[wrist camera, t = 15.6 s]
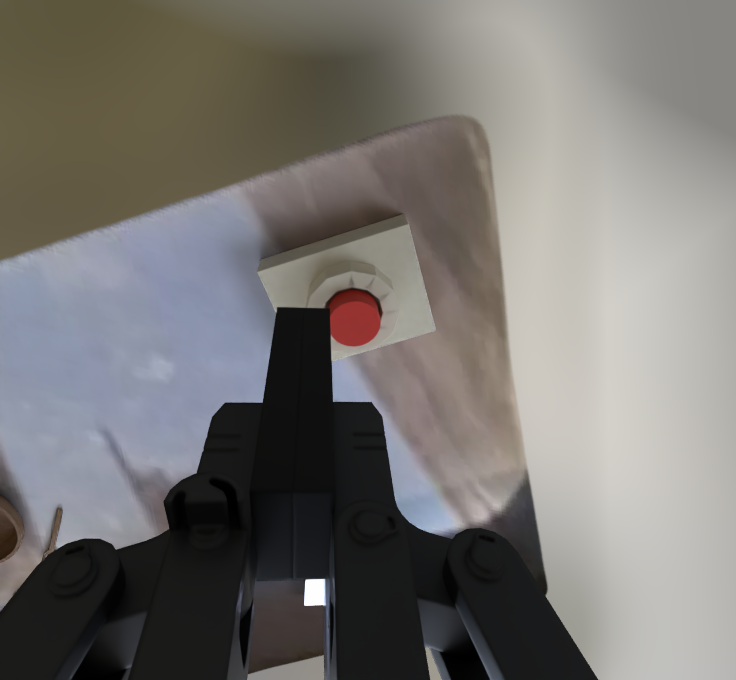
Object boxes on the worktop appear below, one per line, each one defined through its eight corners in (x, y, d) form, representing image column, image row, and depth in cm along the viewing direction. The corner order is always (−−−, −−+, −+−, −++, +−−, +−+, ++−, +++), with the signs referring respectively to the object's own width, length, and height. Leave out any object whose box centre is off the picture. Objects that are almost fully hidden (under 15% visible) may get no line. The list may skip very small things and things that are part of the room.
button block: (403, 213, 35) (413, 232, 32) (430, 317, 40) (441, 343, 36) (259, 259, 36) (254, 282, 32) (302, 355, 41) (302, 384, 37)
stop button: (369, 283, 34) (372, 294, 32) (383, 325, 36) (386, 338, 34) (320, 298, 34) (320, 310, 32) (336, 339, 36) (337, 353, 34)
